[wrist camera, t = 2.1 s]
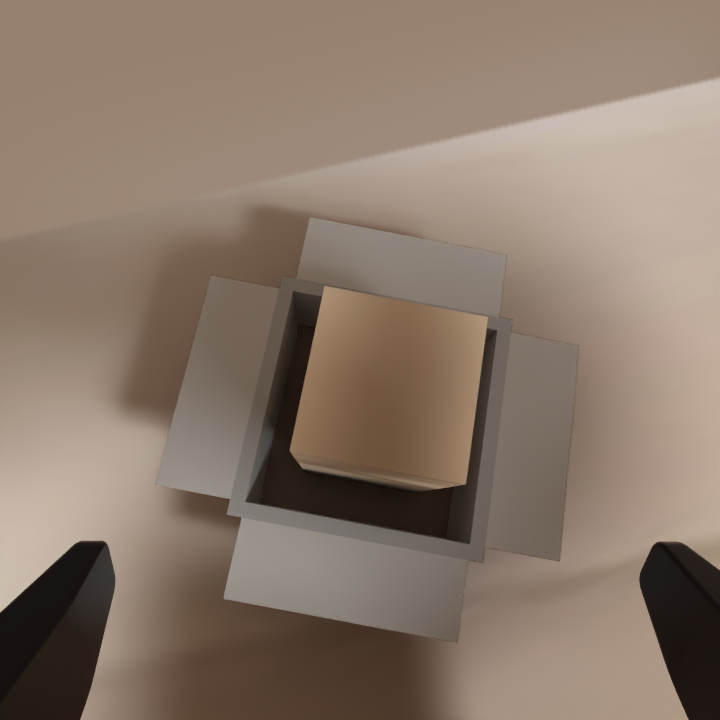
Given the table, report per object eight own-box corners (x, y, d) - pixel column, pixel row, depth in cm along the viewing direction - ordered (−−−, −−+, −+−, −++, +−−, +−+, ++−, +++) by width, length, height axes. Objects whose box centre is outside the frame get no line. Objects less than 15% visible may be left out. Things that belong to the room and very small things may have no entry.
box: (431, 385, 24) (488, 317, 15) (414, 492, 23) (466, 484, 14) (326, 365, 24) (324, 285, 15) (304, 471, 23) (289, 451, 14)
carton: (546, 305, 25) (585, 269, 21) (511, 633, 22) (551, 660, 18) (246, 248, 25) (230, 201, 21) (164, 567, 22) (128, 581, 18)
